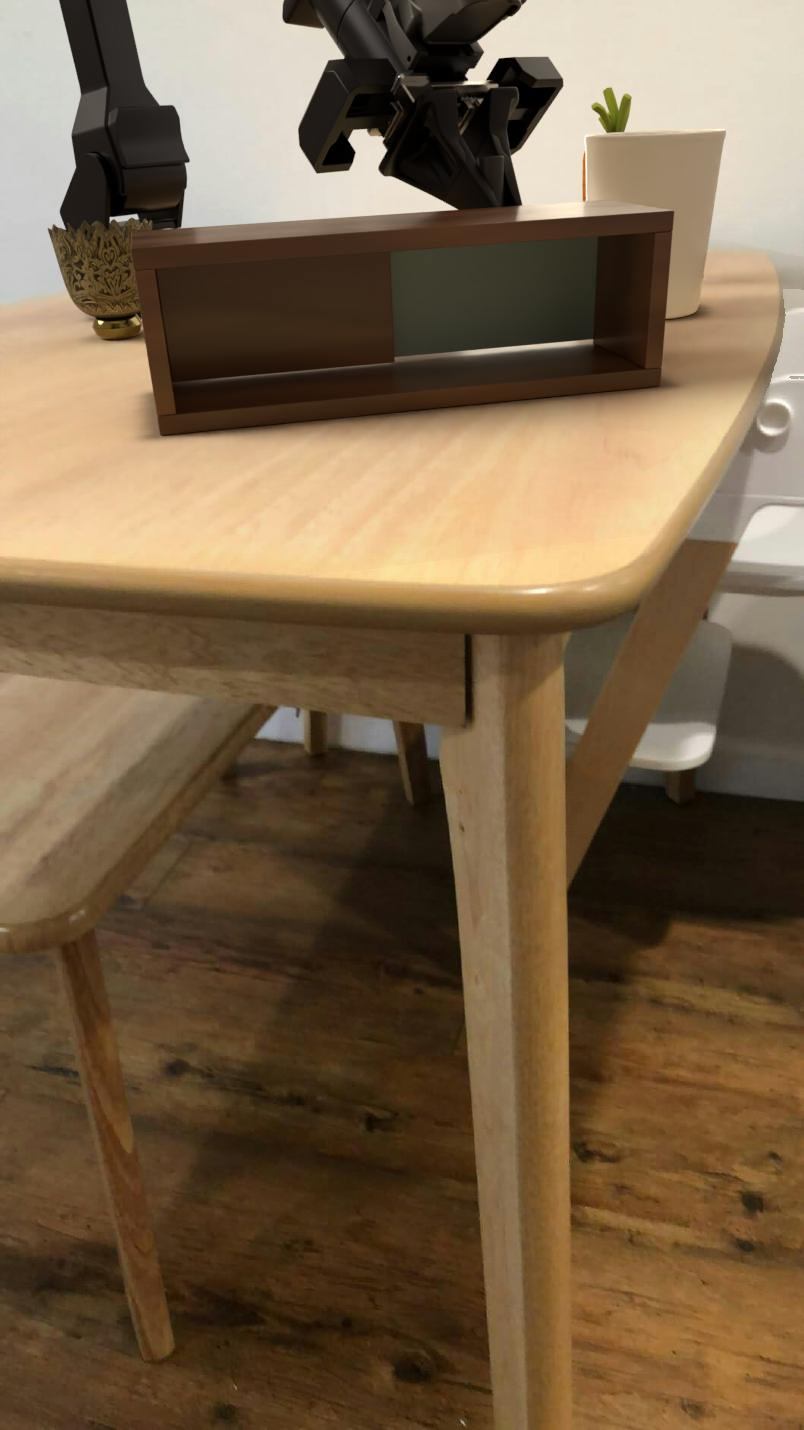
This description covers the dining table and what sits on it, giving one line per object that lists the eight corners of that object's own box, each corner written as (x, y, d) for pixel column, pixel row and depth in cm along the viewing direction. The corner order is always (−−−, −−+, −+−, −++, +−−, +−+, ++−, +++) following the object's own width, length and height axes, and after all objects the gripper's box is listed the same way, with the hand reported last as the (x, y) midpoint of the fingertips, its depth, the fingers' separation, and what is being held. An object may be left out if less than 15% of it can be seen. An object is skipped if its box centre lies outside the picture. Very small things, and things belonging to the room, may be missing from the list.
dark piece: (373, 341, 68) (363, 162, 63) (568, 324, 70) (574, 150, 65) (390, 357, 63) (381, 166, 58) (598, 338, 65) (608, 152, 60)
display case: (157, 395, 62) (130, 230, 58) (597, 354, 67) (605, 199, 63) (160, 435, 54) (130, 247, 50) (660, 386, 59) (674, 210, 55)
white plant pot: (556, 307, 83) (561, 135, 77) (665, 296, 85) (679, 128, 79) (615, 327, 75) (626, 136, 69) (734, 314, 77) (755, 128, 71)
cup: (64, 334, 82) (42, 222, 78) (158, 324, 84) (141, 214, 80) (76, 349, 76) (52, 229, 72) (176, 338, 78) (159, 221, 74)
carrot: (635, 292, 88) (649, 84, 81) (576, 292, 89) (583, 88, 82) (636, 283, 92) (649, 85, 85) (579, 284, 93) (587, 88, 86)
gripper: (311, -126, 54) (469, 115, 52) (544, -97, 65) (681, 103, 63) (239, 64, 63) (373, 274, 61) (454, 61, 74) (573, 239, 72)
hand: (507, 219), depth 64 cm, fingers closed on dark piece, 2 cm apart
